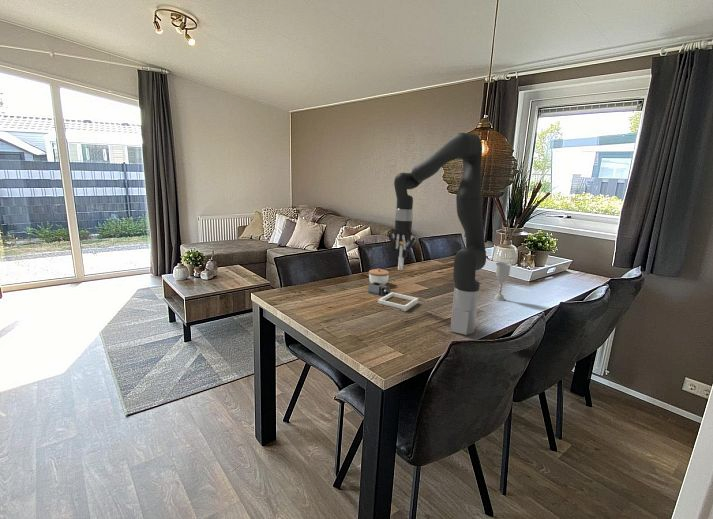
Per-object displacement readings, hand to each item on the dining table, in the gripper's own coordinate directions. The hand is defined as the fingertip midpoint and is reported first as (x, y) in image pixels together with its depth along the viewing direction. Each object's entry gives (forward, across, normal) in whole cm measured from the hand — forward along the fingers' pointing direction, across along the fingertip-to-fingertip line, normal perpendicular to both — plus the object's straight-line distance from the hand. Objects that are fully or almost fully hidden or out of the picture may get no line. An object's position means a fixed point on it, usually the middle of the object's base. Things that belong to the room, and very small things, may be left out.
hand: (401, 257), depth 171 cm
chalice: (+23, +37, +38) cm, 58 cm away
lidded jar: (+23, -22, +20) cm, 37 cm away
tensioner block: (+22, -14, +7) cm, 27 cm away
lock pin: (+6, 0, 0) cm, 6 cm away
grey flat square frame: (+23, 0, 0) cm, 23 cm away
